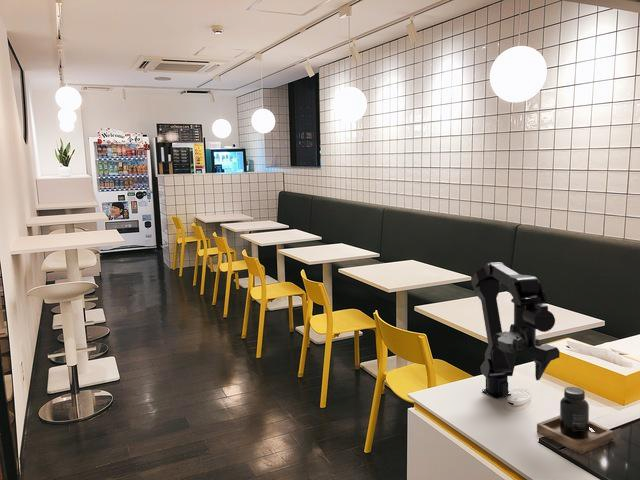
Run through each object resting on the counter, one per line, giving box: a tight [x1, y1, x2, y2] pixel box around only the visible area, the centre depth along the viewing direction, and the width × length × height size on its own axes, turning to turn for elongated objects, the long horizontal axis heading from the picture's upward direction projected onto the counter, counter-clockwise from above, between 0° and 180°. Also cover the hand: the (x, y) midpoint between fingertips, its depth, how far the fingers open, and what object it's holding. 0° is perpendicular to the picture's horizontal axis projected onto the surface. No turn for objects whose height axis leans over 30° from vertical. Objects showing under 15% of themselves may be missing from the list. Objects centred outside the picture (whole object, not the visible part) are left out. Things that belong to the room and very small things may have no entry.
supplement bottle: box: [559, 386, 590, 439], centre depth 135 cm, size 7×7×12 cm
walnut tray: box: [536, 414, 615, 455], centre depth 136 cm, size 13×13×2 cm
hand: (524, 374), depth 145 cm, fingers open, 9 cm apart
